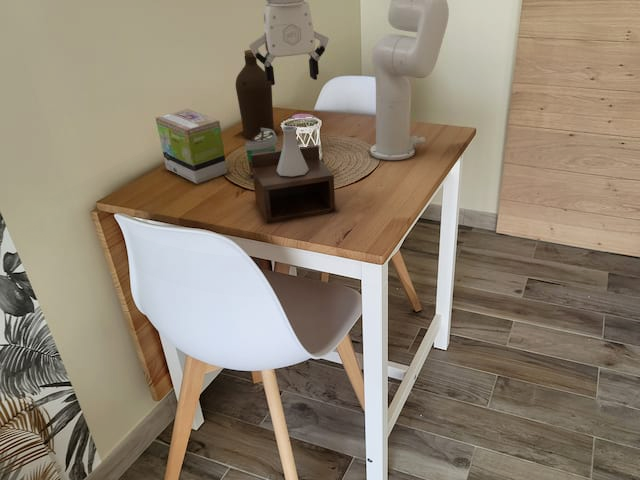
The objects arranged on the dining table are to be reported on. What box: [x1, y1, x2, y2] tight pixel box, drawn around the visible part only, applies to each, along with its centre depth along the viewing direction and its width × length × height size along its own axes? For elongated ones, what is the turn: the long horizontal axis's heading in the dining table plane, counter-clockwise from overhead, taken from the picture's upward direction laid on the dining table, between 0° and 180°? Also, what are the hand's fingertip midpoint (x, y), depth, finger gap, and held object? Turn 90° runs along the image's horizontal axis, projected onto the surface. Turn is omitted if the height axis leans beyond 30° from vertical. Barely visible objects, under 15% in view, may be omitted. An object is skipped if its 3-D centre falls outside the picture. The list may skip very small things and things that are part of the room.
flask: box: [277, 125, 309, 176], centre depth 126 cm, size 7×7×10 cm
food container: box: [244, 128, 279, 179], centre depth 150 cm, size 12×6×10 cm, turn 168°
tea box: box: [155, 108, 228, 185], centre depth 149 cm, size 15×10×15 cm
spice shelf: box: [250, 144, 336, 224], centre depth 130 cm, size 16×12×12 cm
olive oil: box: [235, 49, 275, 140], centre depth 172 cm, size 11×11×25 cm
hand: (292, 81), depth 126 cm, fingers open, 9 cm apart
